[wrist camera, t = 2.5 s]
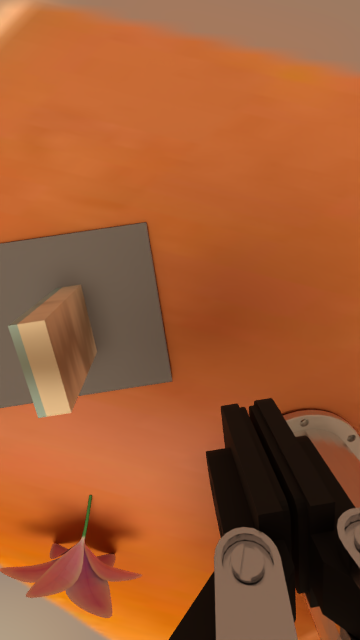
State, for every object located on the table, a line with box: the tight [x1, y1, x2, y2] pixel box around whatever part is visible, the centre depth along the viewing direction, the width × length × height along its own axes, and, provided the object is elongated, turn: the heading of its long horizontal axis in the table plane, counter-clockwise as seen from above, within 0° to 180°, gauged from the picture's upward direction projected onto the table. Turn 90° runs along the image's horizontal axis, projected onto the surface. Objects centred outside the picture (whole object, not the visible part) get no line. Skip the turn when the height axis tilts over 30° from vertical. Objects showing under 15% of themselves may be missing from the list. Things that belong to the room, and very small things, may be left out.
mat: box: [0, 222, 172, 408], centre depth 28 cm, size 14×22×1 cm, turn 98°
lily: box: [0, 495, 142, 618], centre depth 32 cm, size 12×12×10 cm
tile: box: [8, 285, 97, 418], centre depth 23 cm, size 6×2×9 cm, turn 8°
